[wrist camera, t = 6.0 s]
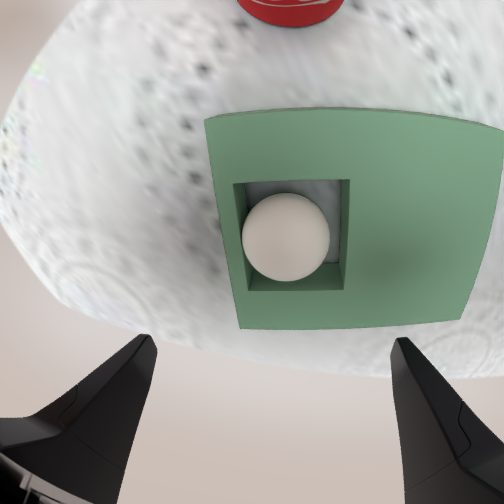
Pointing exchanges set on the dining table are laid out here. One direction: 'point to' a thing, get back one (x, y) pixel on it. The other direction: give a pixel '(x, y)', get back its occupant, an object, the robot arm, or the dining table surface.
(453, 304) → the green shape sorter board
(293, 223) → the ball
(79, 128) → the dining table surface
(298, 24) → the beverage can
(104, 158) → the dining table surface
